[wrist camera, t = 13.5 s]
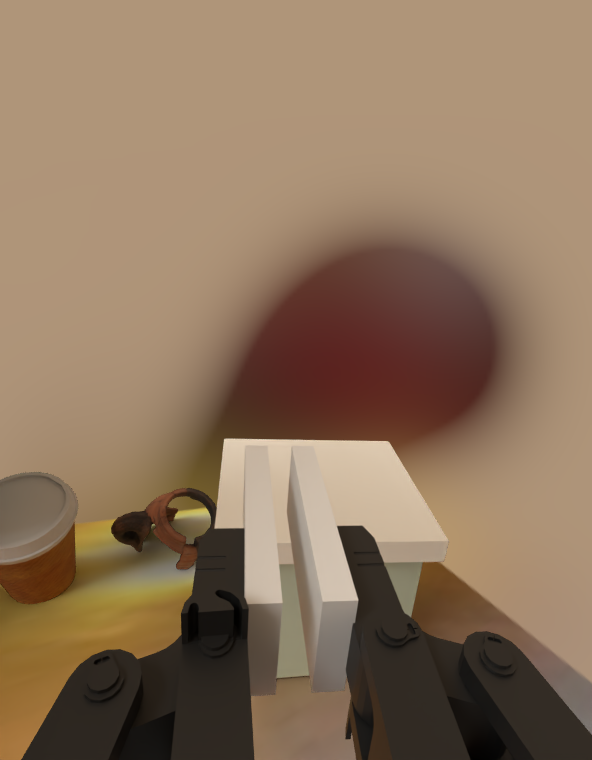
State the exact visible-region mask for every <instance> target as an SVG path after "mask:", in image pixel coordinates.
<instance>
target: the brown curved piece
mask: <svg viewBox="0 0 592 760" xmlns="http://www.w3.org/2000/svg"><path fill="white" fill-rule="evenodd" d="M181 496H188V497H190V498H192V499H195V500H198V501H200V502H202V503H203V504H204V505H205V506H206V508H207V509H208V511H209V513H210V516H211V526H210V528H209V529H215V520H216V511H217V507H216V505H215V503H214V502H213V501H212V500H211V499H210V498H209V497H208V495H206V494H205V493H203V492H201V491H199V490H196V489H192V488H187V489H185V488H182V489H177V490H174V491H173V492H171V493H167V494H164V495H161V496H159V497H158V498H156V499H155V500H154V501H152V502H151V503H150V504H149V505H148V506H147V507H146V509H145V511H141V512H131V513H128V514H125V515H123V516H121V517H118V518H117V519H116V521H115V522H114V523H113V525H112V527H111V532H112V534H113V535H114V537H115V538H116V539H117V540H118V541H119V542H121V543H124V544H127V545H131V546H132V547H134V548H135V549H136V551H138V552H141V551H142V545H143V541H144V539H145V538H146V537H147V535H148V534H149V532H150V530H151V526H152V524H155V525H156V528H155V529H154V530H153V533H154V534H155V535H156V536H157V537H158V538H159V539H160V540H161V542H163V543H164V544H166V545H167V546H168V547H169V548H170V549H172V550H173V551H175V552H177V553H179V554H181V556H180V560H179V561H178V563H177V564H176V568H177V569H188V568H190V567H191V566H192V565H193V564H194V562H195V560H196V561H197V555H198V547H199V541H200V540H201V539H202V537H203V536H204V535H202V536H199V537H196V538H195V540H194V544H186V537H185V536H183V535H181V534H180V533H178V532H176V531H175V530H174V529H173V528H172V526H171V525H170V523H169V521H173V520H174V517H175V514H176V513H177V512H178V509H176V508H169V507H167V506H168V504H169V502H170V501H171V500H172V499H174V498H176V497H181Z"/></svg>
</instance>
